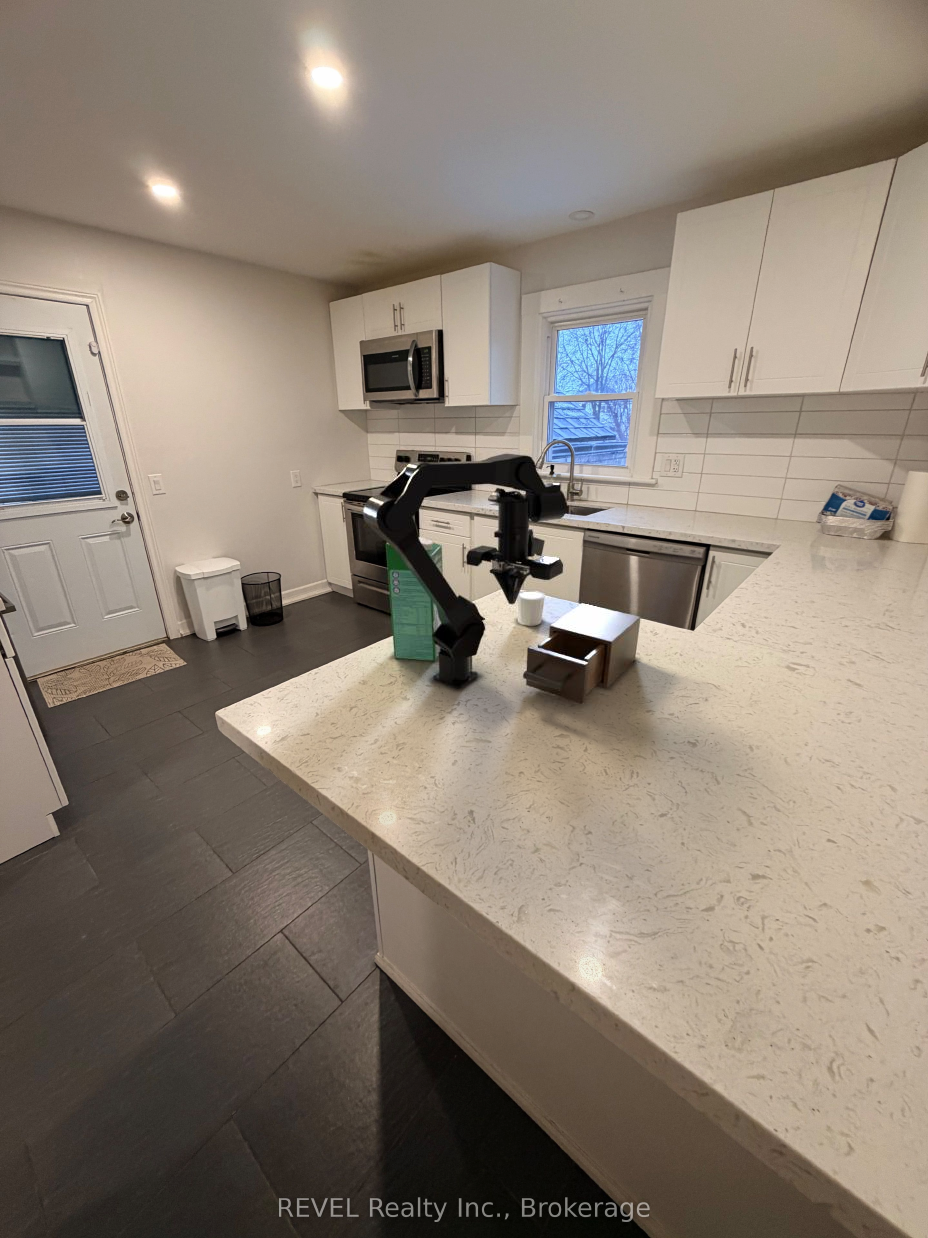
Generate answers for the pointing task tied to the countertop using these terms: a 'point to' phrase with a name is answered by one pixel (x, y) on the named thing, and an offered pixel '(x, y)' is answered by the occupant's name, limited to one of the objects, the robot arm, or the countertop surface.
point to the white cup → (530, 607)
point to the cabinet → (604, 635)
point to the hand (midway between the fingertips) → (512, 603)
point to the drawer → (566, 666)
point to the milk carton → (412, 607)
